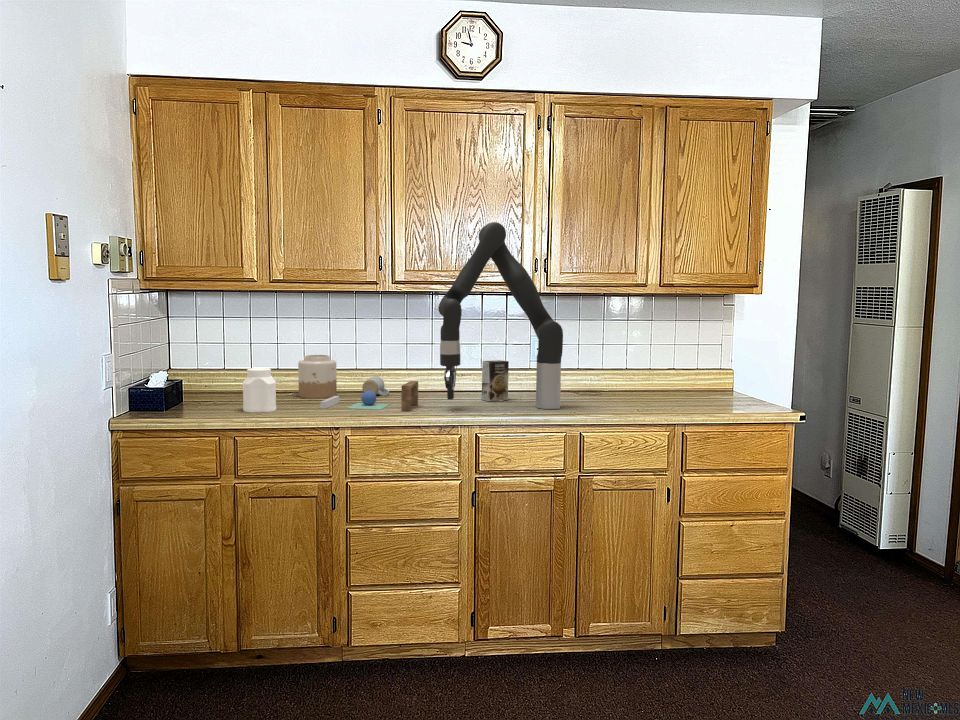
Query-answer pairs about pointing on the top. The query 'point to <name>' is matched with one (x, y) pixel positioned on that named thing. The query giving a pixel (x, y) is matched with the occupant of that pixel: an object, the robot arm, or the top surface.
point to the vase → (317, 377)
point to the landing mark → (368, 406)
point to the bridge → (409, 395)
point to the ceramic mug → (375, 386)
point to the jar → (259, 391)
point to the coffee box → (495, 380)
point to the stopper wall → (329, 402)
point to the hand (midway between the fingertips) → (450, 399)
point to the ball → (368, 398)
